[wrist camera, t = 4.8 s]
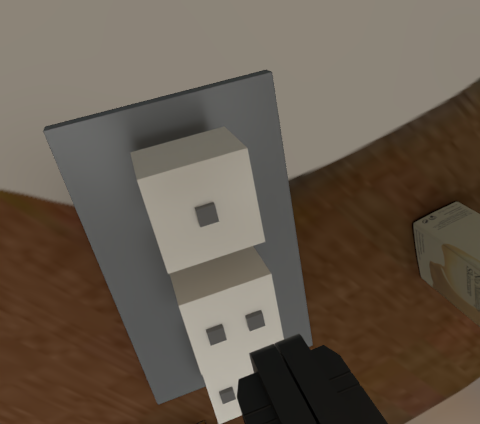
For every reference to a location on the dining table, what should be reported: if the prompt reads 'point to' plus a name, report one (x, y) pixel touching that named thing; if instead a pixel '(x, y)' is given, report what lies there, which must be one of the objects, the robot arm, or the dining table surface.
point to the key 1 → (199, 197)
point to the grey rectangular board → (139, 225)
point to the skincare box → (451, 255)
